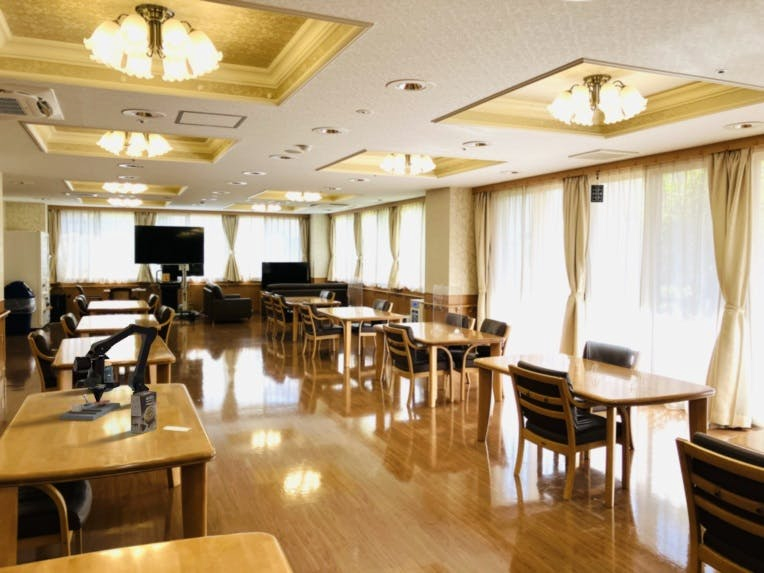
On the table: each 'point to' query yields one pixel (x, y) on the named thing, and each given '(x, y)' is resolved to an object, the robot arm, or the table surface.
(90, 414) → the switch panel
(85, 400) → the toggle
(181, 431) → the table surface
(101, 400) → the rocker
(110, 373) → the canister
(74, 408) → the slider
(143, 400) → the coffee box
